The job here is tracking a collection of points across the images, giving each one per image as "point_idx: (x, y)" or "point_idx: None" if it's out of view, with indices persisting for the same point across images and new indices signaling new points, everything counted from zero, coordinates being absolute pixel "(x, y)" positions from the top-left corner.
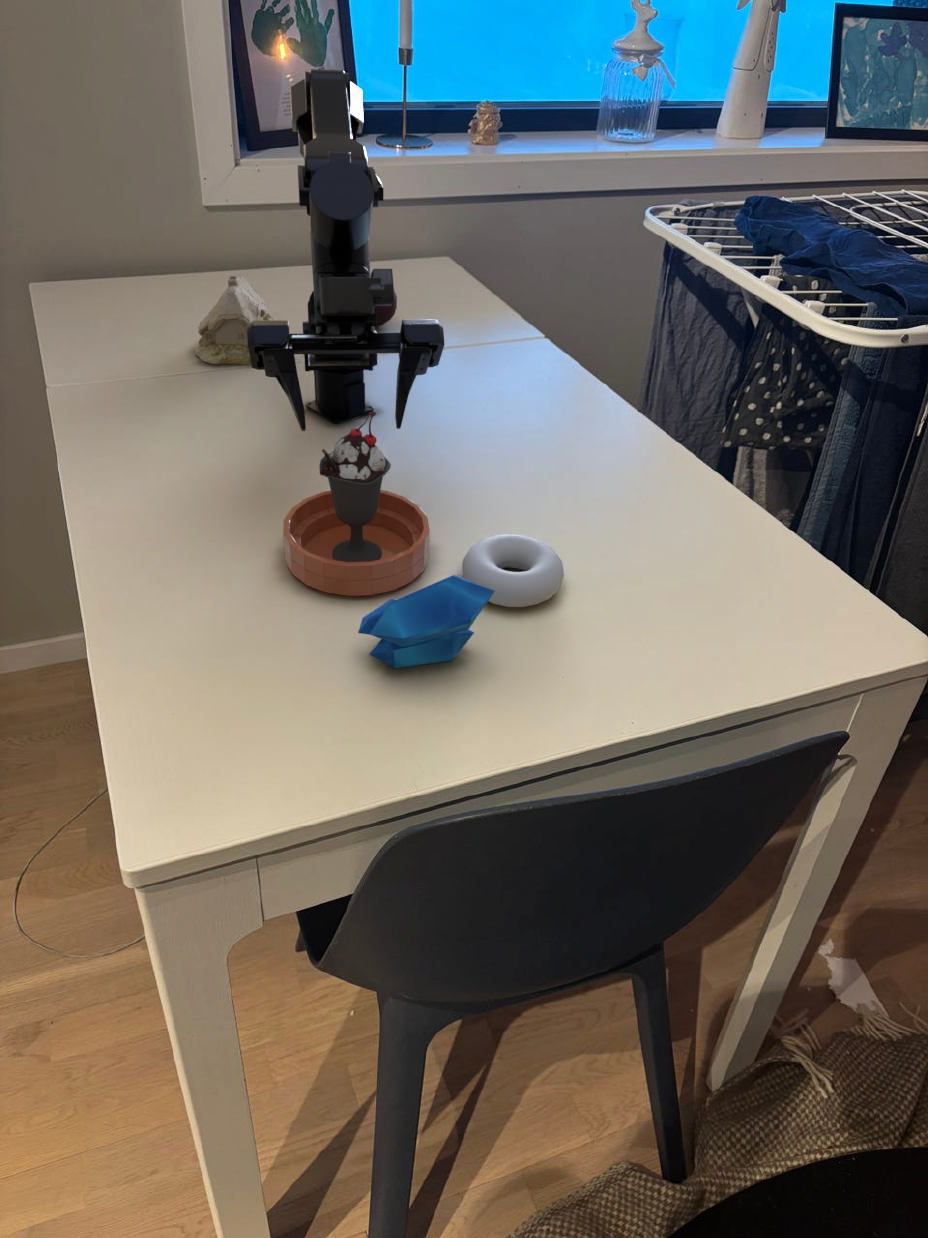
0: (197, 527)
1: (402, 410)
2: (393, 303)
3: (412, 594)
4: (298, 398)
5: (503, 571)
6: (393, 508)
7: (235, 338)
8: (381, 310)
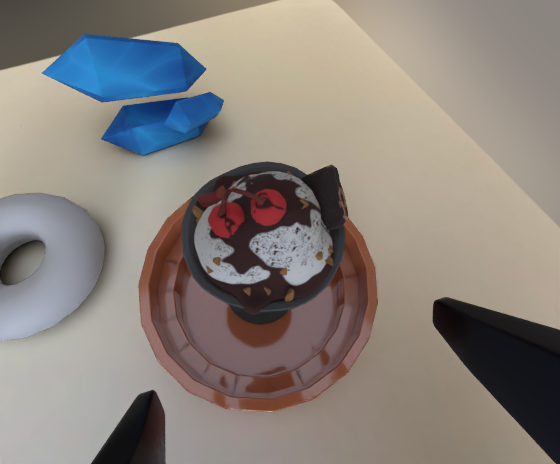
0: None
1: (116, 438)
2: None
3: (149, 42)
4: (534, 334)
5: (32, 212)
6: (213, 385)
7: None
8: None
